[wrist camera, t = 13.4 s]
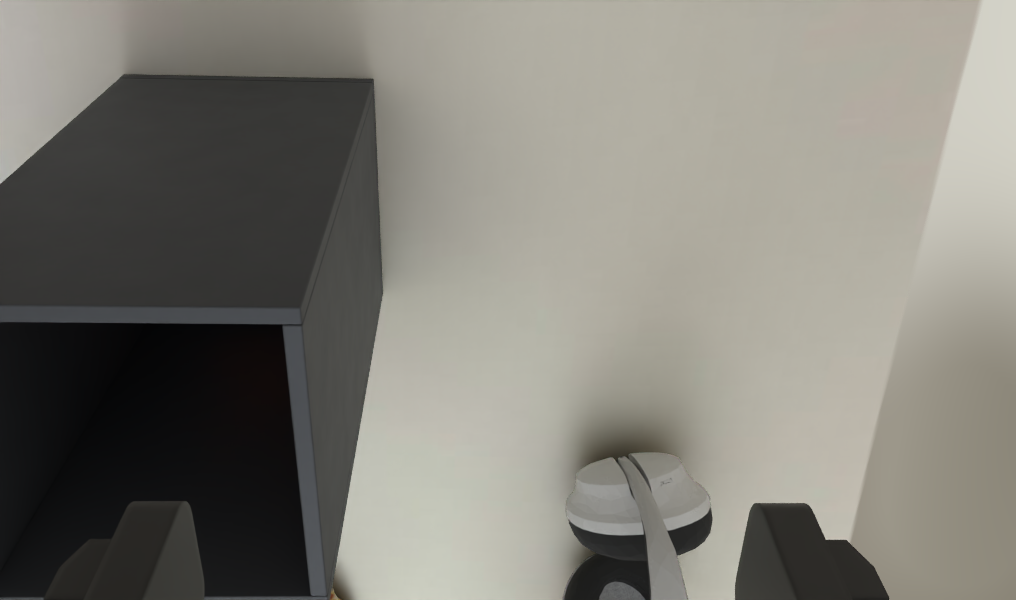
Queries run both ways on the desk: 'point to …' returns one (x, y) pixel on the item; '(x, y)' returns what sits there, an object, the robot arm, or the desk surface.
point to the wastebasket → (191, 326)
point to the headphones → (635, 527)
